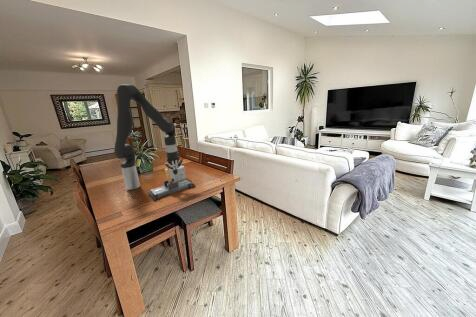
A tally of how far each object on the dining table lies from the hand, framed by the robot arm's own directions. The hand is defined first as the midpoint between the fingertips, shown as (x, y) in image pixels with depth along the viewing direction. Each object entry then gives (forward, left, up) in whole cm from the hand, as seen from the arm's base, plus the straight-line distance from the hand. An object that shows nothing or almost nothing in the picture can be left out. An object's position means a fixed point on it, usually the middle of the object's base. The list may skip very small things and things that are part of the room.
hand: (175, 174), depth 136 cm
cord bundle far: (+1, +9, -11) cm, 14 cm away
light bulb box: (-15, +7, -11) cm, 20 cm away
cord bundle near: (+1, -17, -11) cm, 20 cm away
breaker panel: (0, -4, -11) cm, 12 cm away
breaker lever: (0, -4, -7) cm, 8 cm away
